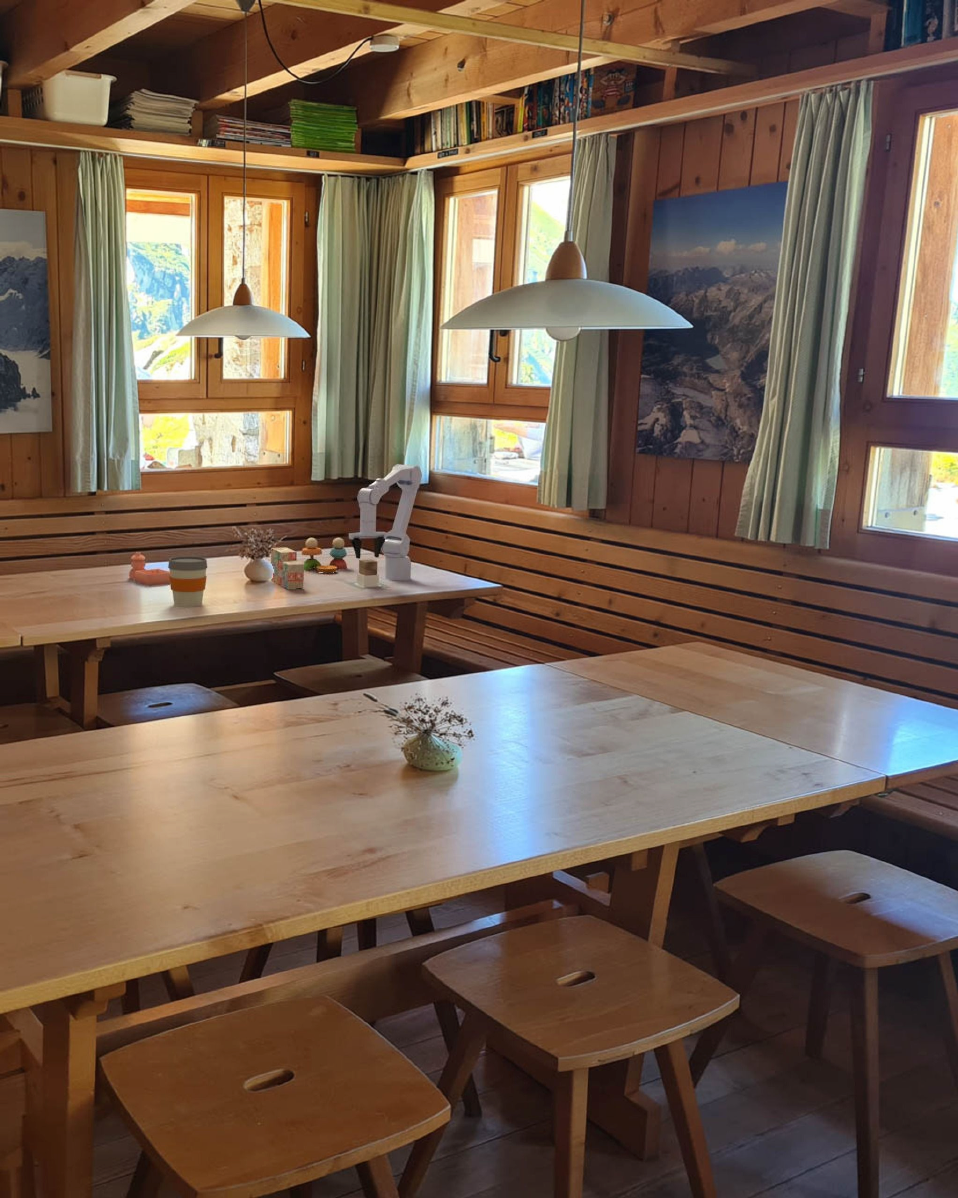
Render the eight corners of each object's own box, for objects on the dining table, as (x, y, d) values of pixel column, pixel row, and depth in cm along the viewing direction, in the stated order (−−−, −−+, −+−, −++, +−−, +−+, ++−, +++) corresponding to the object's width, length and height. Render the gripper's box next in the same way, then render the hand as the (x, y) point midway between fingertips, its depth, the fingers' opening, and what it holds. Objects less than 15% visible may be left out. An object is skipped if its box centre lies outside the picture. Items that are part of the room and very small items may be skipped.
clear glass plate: (373, 581, 445) (373, 580, 445) (390, 588, 434) (390, 586, 434) (344, 583, 439) (344, 582, 439) (361, 590, 428) (361, 589, 427)
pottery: (172, 583, 427) (171, 556, 425) (148, 586, 420) (148, 559, 418) (145, 576, 439) (145, 550, 437) (122, 578, 432) (121, 552, 430)
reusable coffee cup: (212, 606, 389) (212, 561, 386) (174, 608, 383) (174, 563, 380) (201, 599, 400) (200, 555, 397) (164, 601, 394) (163, 557, 391)
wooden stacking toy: (320, 575, 456) (320, 543, 453) (297, 568, 469) (297, 537, 467) (359, 571, 467) (360, 540, 465) (336, 565, 480) (336, 534, 478)
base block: (371, 583, 440) (371, 572, 440) (378, 585, 436) (378, 575, 435) (356, 583, 437) (356, 573, 437) (364, 586, 432) (364, 575, 432)
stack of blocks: (304, 589, 426) (304, 555, 423) (287, 590, 423) (287, 556, 421) (286, 579, 445) (287, 546, 442) (270, 579, 442) (270, 547, 439)
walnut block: (371, 572, 439) (371, 559, 438) (377, 574, 435) (377, 561, 434) (358, 573, 437) (359, 560, 436) (364, 575, 432) (365, 562, 431)
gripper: (380, 518, 440) (379, 555, 443) (345, 520, 432) (344, 557, 435) (389, 521, 434) (388, 557, 437) (354, 522, 427) (353, 560, 429)
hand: (367, 557), depth 436 cm, fingers open, 7 cm apart
